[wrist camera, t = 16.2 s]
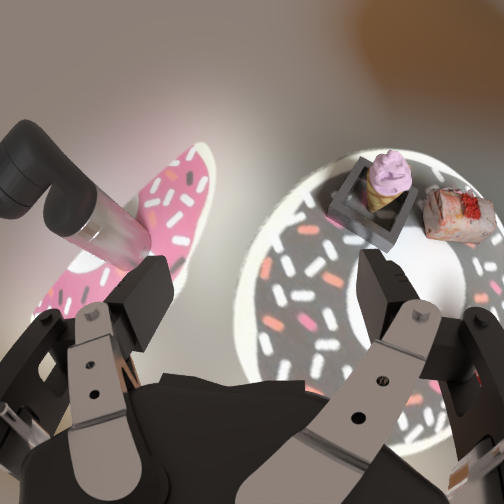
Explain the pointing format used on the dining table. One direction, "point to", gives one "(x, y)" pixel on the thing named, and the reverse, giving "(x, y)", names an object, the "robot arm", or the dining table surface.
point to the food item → (458, 216)
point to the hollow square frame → (361, 223)
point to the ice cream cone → (387, 179)
